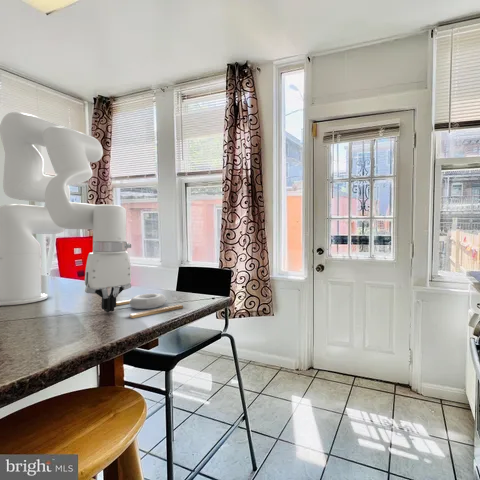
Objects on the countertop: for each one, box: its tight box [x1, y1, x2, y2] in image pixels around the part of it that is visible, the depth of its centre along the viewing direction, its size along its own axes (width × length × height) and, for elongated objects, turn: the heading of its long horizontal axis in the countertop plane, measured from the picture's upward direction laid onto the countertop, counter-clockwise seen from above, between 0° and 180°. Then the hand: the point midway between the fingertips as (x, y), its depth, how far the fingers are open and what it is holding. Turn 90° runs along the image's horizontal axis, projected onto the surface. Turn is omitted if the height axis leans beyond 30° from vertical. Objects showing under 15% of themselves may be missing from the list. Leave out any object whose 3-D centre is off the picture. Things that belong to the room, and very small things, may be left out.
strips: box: [116, 299, 184, 319], centre depth 86 cm, size 20×14×1 cm
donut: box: [129, 292, 167, 310], centre depth 87 cm, size 10×4×10 cm
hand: (108, 310), depth 78 cm, fingers closed
